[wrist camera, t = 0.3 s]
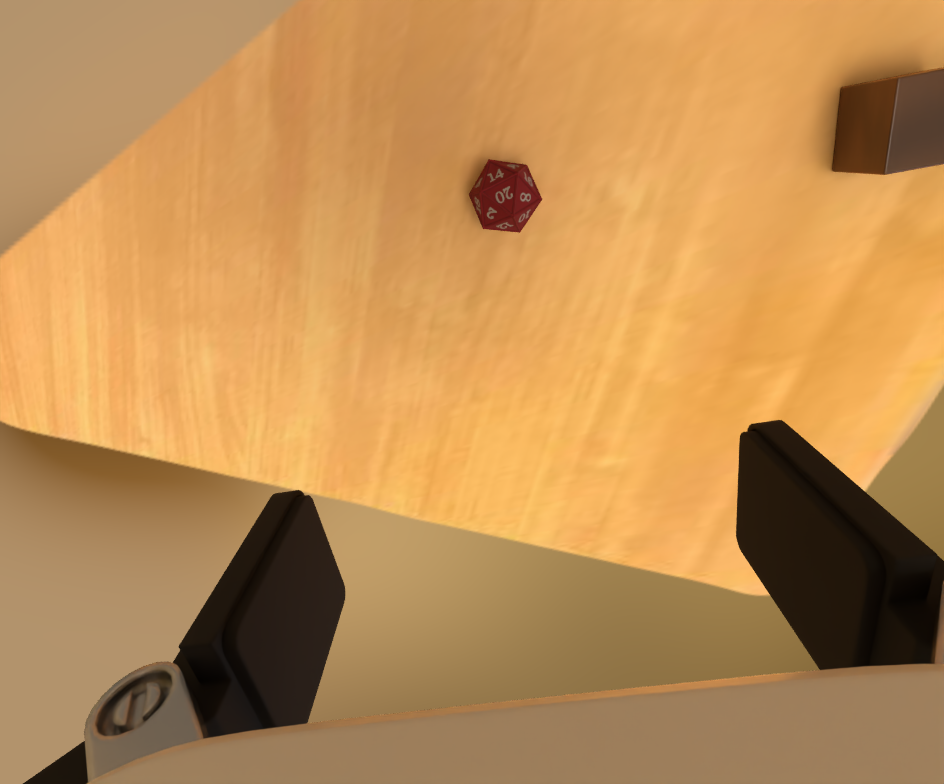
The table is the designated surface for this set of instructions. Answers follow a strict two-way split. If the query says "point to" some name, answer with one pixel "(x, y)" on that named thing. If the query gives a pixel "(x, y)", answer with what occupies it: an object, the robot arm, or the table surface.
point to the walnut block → (891, 124)
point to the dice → (505, 196)
